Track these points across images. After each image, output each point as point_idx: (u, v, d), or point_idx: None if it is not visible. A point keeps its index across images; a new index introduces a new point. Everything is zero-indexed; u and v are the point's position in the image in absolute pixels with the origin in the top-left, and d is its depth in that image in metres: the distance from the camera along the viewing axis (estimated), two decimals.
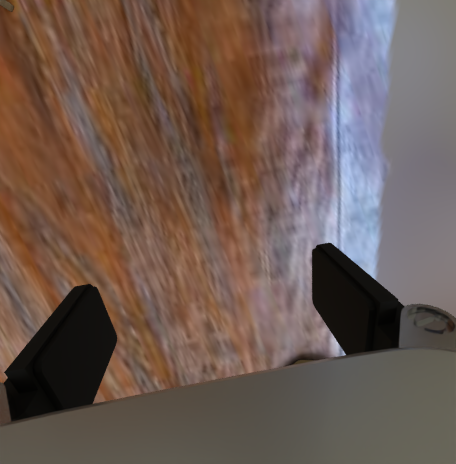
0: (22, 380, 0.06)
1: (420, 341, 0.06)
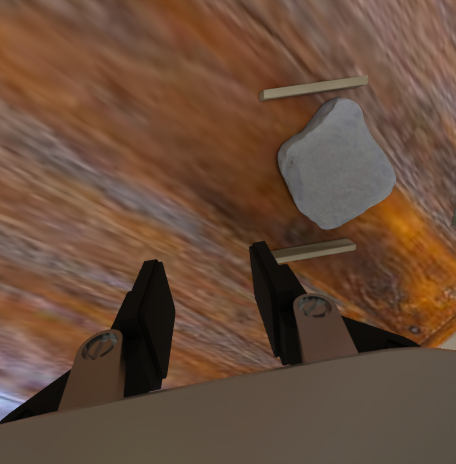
0: (131, 328, 0.07)
1: (313, 329, 0.06)
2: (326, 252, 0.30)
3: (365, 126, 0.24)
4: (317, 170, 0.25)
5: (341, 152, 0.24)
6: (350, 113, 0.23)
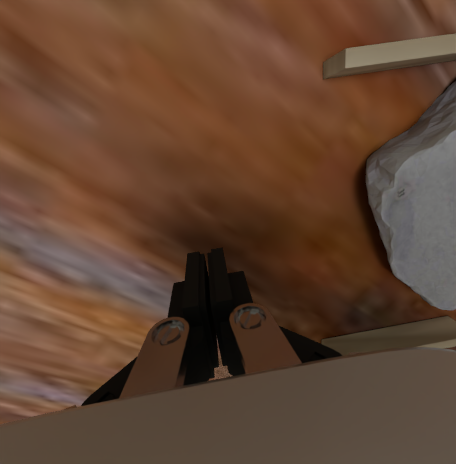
0: (193, 316, 0.08)
1: (253, 341, 0.06)
2: None
3: None
4: (455, 209, 0.12)
5: None
6: None
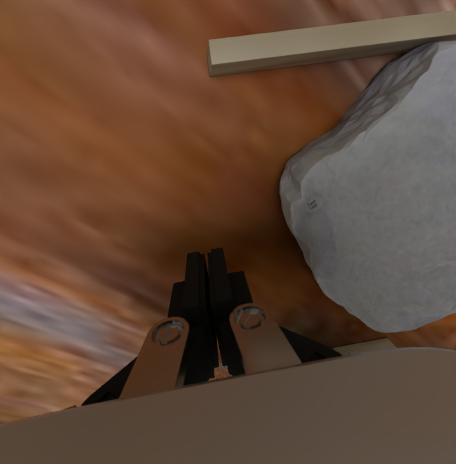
0: (193, 316, 0.08)
1: (253, 341, 0.06)
2: None
3: None
4: (376, 223, 0.10)
5: (437, 180, 0.10)
6: None
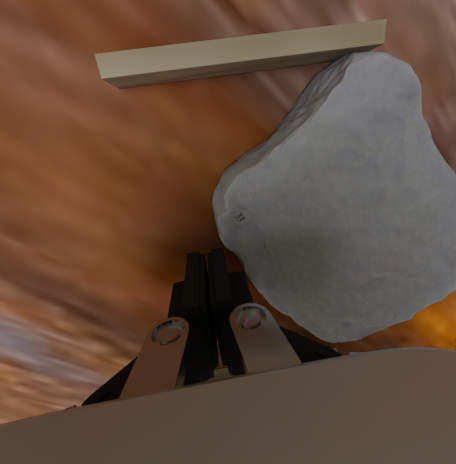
0: (193, 316, 0.08)
1: (253, 341, 0.06)
2: None
3: (424, 126, 0.09)
4: (304, 235, 0.10)
5: (363, 192, 0.10)
6: (388, 91, 0.08)
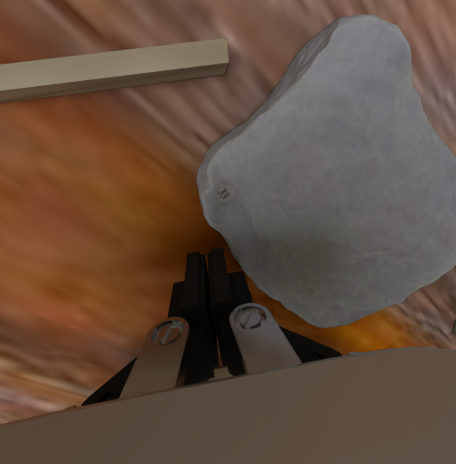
0: (193, 316, 0.08)
1: (253, 341, 0.06)
2: None
3: (415, 95, 0.09)
4: (291, 212, 0.10)
5: (351, 166, 0.09)
6: (376, 56, 0.08)
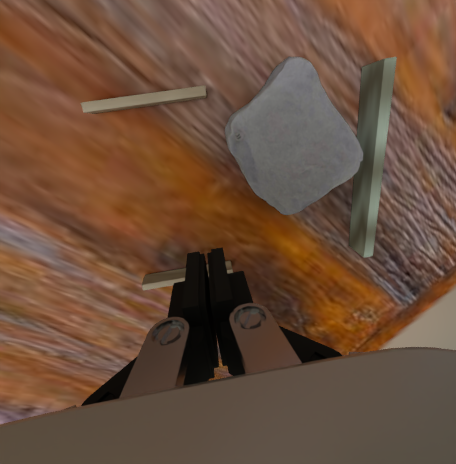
0: (193, 316, 0.08)
1: (253, 341, 0.06)
2: None
3: (322, 90, 0.20)
4: (269, 145, 0.21)
5: (295, 122, 0.21)
6: (302, 74, 0.19)
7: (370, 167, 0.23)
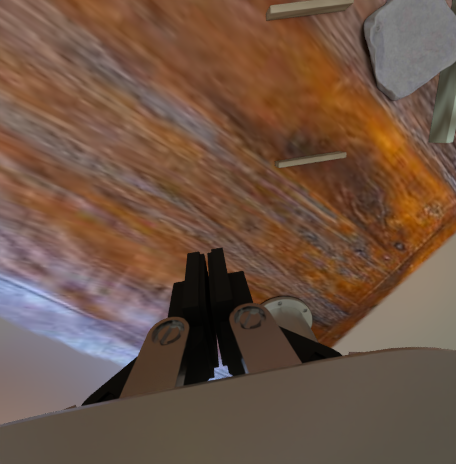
0: (193, 316, 0.08)
1: (253, 341, 0.06)
2: (321, 158, 0.35)
3: None
4: (400, 34, 0.30)
5: (421, 16, 0.29)
6: None
7: None
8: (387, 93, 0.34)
